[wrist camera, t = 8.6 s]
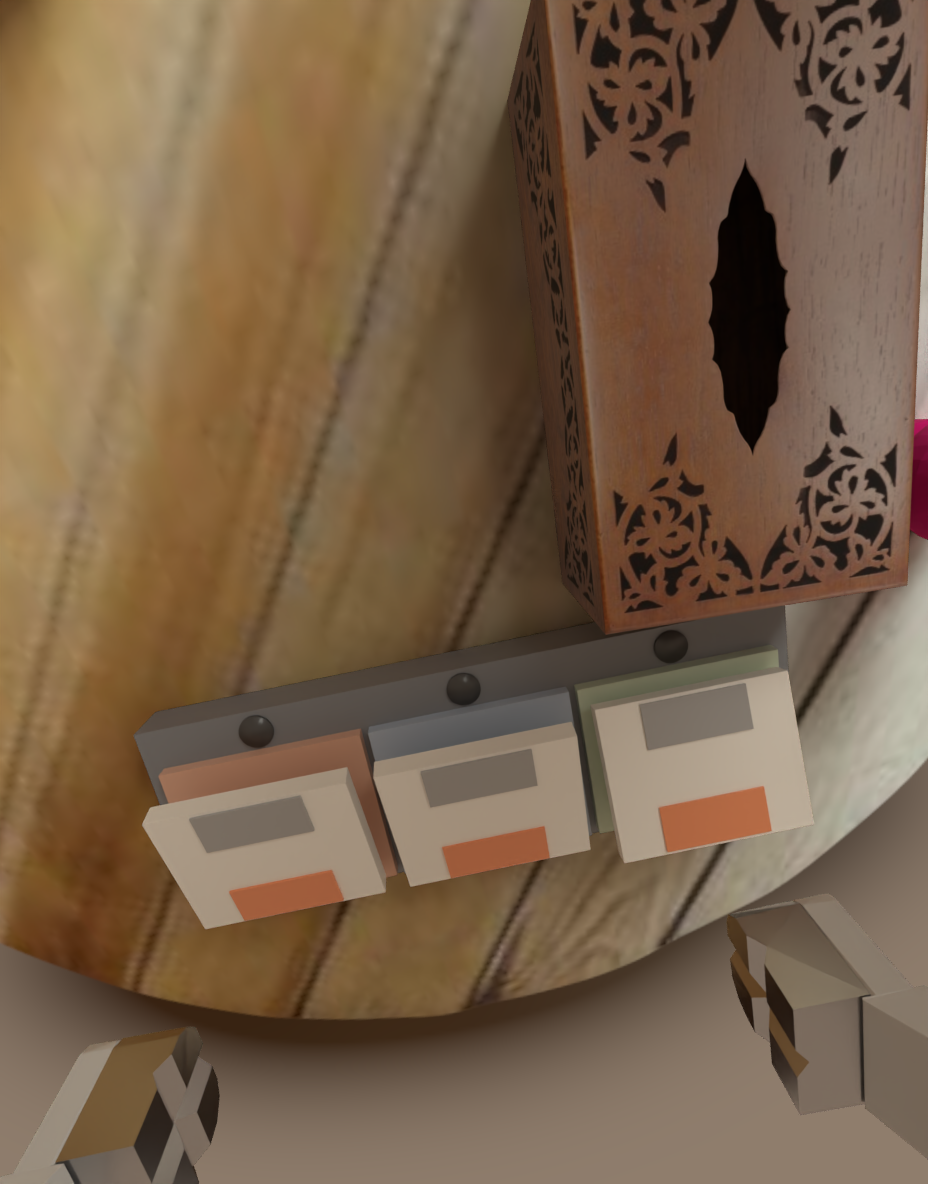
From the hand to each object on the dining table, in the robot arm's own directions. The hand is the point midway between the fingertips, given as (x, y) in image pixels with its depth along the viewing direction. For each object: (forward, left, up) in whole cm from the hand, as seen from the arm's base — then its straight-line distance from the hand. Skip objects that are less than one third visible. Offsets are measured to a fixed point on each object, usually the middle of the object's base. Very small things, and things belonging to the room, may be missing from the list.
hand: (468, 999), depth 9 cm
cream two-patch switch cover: (-13, +13, -23) cm, 29 cm away
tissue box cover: (-15, -10, -30) cm, 35 cm away
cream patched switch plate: (+12, +13, -23) cm, 29 cm away
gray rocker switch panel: (0, +12, -29) cm, 31 cm away
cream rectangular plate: (0, +13, -23) cm, 27 cm away
